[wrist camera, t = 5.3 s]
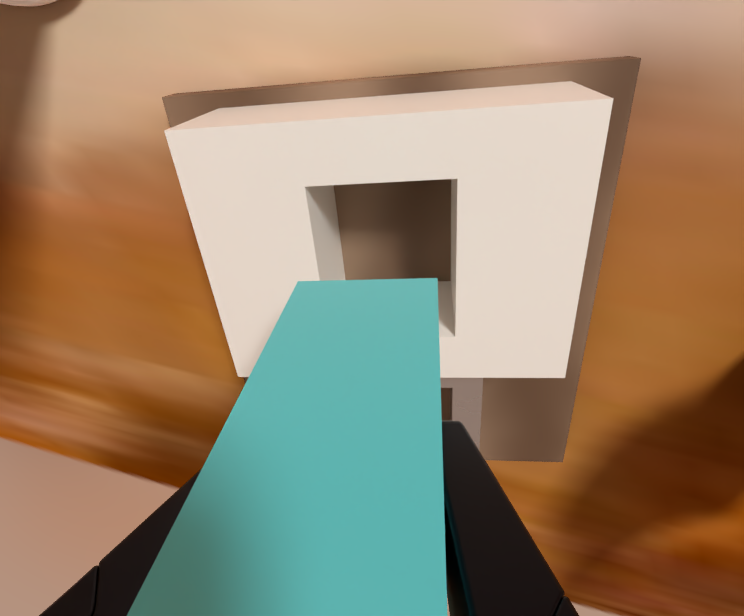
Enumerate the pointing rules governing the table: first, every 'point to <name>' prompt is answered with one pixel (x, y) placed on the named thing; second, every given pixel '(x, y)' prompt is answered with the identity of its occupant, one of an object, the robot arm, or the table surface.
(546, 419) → the board
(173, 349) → the table surface
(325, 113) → the port box
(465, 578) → the robot arm
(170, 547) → the plug
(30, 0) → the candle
